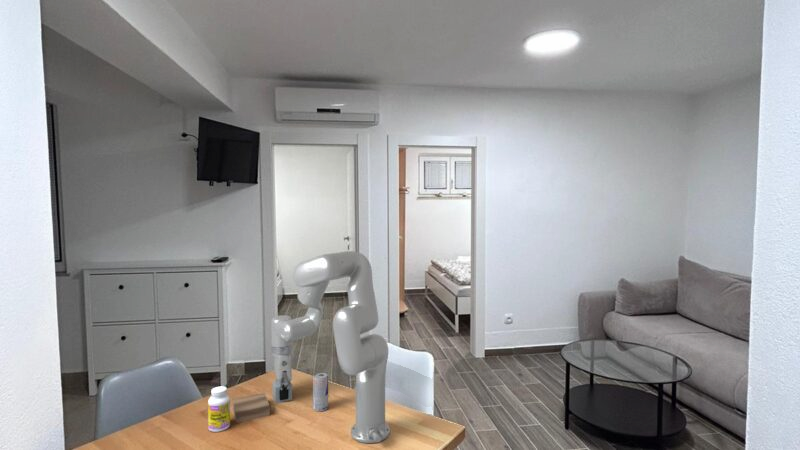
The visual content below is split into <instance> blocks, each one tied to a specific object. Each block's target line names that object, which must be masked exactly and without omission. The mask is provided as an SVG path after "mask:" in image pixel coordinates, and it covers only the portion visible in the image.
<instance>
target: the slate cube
mask: <svg viewBox="0 0 800 450" xmlns="http://www.w3.org/2000/svg"><path fill="white" fill-rule="evenodd" d="M281 381H283V380H281ZM283 383H284V382H283ZM283 383H282V385H283ZM292 386H293V384H292V382H291V381H290V380H289V379H288V390H289V398H288V399H286V400H280V393H279V390H280V382H278V381H276V380H273V381H272V398H273V401H274V404H281V403H284V402H289V401H293V390H292V389H293V387H292Z"/></svg>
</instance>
